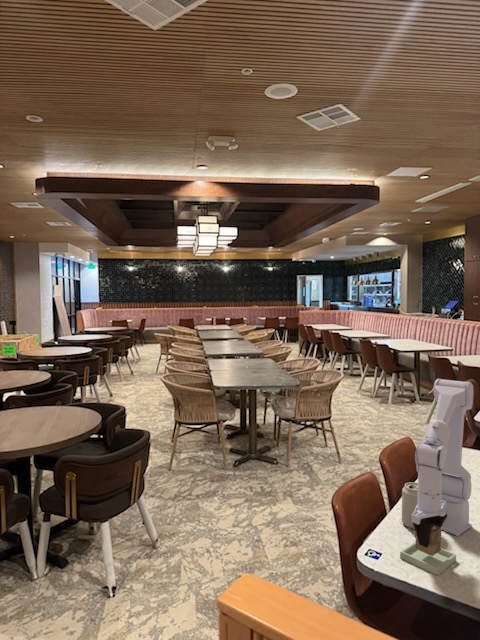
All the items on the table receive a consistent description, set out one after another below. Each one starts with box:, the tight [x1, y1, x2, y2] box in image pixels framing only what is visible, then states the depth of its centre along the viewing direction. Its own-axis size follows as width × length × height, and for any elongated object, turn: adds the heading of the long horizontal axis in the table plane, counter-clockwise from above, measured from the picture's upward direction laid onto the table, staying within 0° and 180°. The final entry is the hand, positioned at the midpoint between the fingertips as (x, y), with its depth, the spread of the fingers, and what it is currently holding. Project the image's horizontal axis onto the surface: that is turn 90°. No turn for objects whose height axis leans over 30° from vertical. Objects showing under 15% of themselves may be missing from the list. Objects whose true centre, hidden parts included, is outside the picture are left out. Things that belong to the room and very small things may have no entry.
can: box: [401, 481, 418, 530], centre depth 136 cm, size 8×8×12 cm
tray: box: [399, 541, 457, 576], centre depth 118 cm, size 10×10×2 cm
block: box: [415, 525, 442, 556], centre depth 118 cm, size 4×4×6 cm
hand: (428, 542), depth 118 cm, fingers closed on block, 4 cm apart
